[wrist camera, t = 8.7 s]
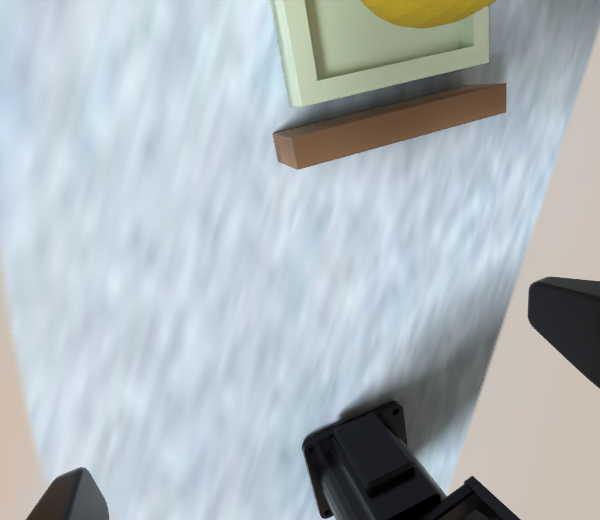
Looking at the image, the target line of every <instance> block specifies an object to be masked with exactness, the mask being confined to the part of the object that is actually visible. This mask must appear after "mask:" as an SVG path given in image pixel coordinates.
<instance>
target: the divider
mask: <svg viewBox="0 0 600 520" xmlns="http://www.w3.org/2000/svg"><path fill="white" fill-rule="evenodd" d="M505 112H506V83H502V84H482V85H466V86H462V87H458V88H453V89H449V90H445V91H441V92H437V93H433V94H429V95H425V96H421V97H417V98H413V99H409V100H405V101H401V102H397V103H393V104H389V105H385V106H381V107H377V108H373V109H369V110H365V111H361V112H357V113H353V114H349V115H345V116H341V117H337V118H333V119H329V120H325V121H321V122H317V123H313V124H309V125H305V126H301V127H297V128H293V129H289V130H285V131H281V132H277V133H273V138H274V143H275V148H276V152H277V157H278V162H281V163H283V164H286V165H288V166H290V167H293V168H295V169H297V170H298V169H302V168H306V167H309V166H313V165H316V164H320V163H324V162H327V161H331V160H335V159H338V158H342V157H345V156H349V155H353V154H356V153H360V152H363V151H367V150H371V149H374V148H378V147H382V146H385V145H389V144H392V143H396V142H400V141H403V140H407V139H411V138H414V137H418V136H421V135H425V134H429V133H432V132H436V131H440V130H443V129H447V128H450V127H454V126H458V125H461V124H465V123H469V122H472V121H476V120H479V119H483V118H487V117H490V116H494V115H498V114H501V113H505Z"/></svg>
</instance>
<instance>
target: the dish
mask: <svg viewBox="0 0 600 520" xmlns="http://www.w3.org/2000/svg"><path fill="white" fill-rule="evenodd" d="M270 4H271V9H272V14H273V20H274V25H275V30H276V35H277V41H278V46H279V51H280V56H281V62H282V67H283V72H284V77H285V82H286V88H287V93H288V98H289V103H290V106H291V107H304V106H308V105H312V104H317V103H321V102H325V101H329V100H333V99H338V98H342V97H346V96H350V95H354V94H359V93H363V92H367V91H371V90H376V89H380V88H384V87H388V86H392V85H397V84H401V83H405V82H409V81H413V80H418V79H422V78H426V77H430V76H435V75H439V74H443V73H447V72H451V71H456V70H460V69H464V68H468V67H472V66H477V65H481V64H485V63H489V5H488V6H486V7H484V8H482V9H481V10H479V11H477V12H475V13H474V14H472V15H470V16H469V17H466V18H464V19H462V20H460V21H457V22H454V23H450V24H446V25H441V26H436V27H432V28H424V29H420V28H410V27H401V26H397V25H394V24H392V23H389V22H387V21H385V20H383V19H381V18H379V17H377V16H376V15H375V14H374V13H373V12H372V11H370V10H369V9H368V8H367V7H366V6H365V5H364V4H363V3H362V1H361V0H270Z"/></svg>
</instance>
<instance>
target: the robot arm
mask: <svg viewBox="0 0 600 520" xmlns="http://www.w3.org/2000/svg"><path fill="white" fill-rule="evenodd" d="M528 319H529V321H530V324H531V325H532V326H533V327H534V329H536V330H537V331H538V332H539V333H540V334H541V335H542V336H543V337H544V338H545V339H546V340H547V341H548V342H549V343H550V344H551V345H553V346H554V347H555V348H556V349H557V350H558V351H559V352H560V353H561V354H562V355H563V356H564V357H565V358H566V359H567V360H568V361H570V363H572V364H573V365H574V366H575V367H576V368H577V369H578V370H579V371H580V372H581V373H582V374H583V375H584V376H586V377H587V378H588V379H589V380H590V381H591V382H593V383H594V384H595V385H596V386H597V387H599V388H600V281H590V280H580V279H570V278H559V277H546V278H543V279H541V280H538V281H536V282H534V283H532V284H531V285H530V287H529V298H528ZM394 409H395V410H394ZM311 447H312V448H311ZM302 451H303V454H304V458H305V462H306V466H307V470H308V473H309V477H310V481H311V485H312V488H313V492H314V496H315V500H316V504H317V507H318V511H319V513H320V515H321V517H322V518H324V519H327V518H329V517H331V516H333V515H334V516H335V519H336V520H520V519H519V518H518V517H517V516H516V515H515V514H514V513H513V512H512V511H510V510H509V509H508V508H507V507H506V506H505V505H504V504H503V503H502V502H500V501H499V500H498V499H497V498H496V497H495V496H494V495H493V494H492V493H491V492H490V491H489V490H487V489H486V488H485V487H484V486H483V485H482V484H481V483H480V482H479V481H478V480H476V479H475V478H474V477H473V476H471V477H470V478H469V479H467V480H466V481H464V485H462V486H461V487H460V488H458V489H457V490H456V491H454V492H453V493H451V494H450V495H449V496H446V495H445V493H444V492H443V491H442V490H441V488H440V487H439V486H438V485H437V483H436V482H435V481H434V479H433V478H432V477H431V476H430V474H429V473H428V472H427V471H426V469H425V468H424V467H423V466H422V464H421V463H420V462H419V460H418V459H417V458H416V457H415V455H414V454H413V453H412V452H411V450H410V449H409V448H408V447H407V439H406V431H405V422H404V414H403V408H402V406H401V405H400V404H399V403H398V402H397V401H392V402H389V403H387V404H385V405H383V406H380V407H378V408H376V409H374V410H371V411H369V412H367V413H365V414H363V415H360V416H358V417H356V418H354V419H351V420H349V421H347V422H345V423H342V424H340V425H338V426H336V427H334V428H331V429H329V430H327V431H325V432H322V433H320V434H318V435H316V436H313V437H311V438H309V439H307V440H306V441H305V442H304V443H303V445H302ZM26 520H109V512H108V507H107V503H106V501H105V499H104V497H103V495H102V493H101V491H100V490H99V488H98V486H97V485H96V483H95V481H94V479H93V478H92V476H91V474H90V472H89V471H88V470H87V469H86V468H83V467H80V468H77V469H75V470H72V471H70V472H67V473H65V474H62V475H60V476H58V477H57V478H56V479H55V480H54V481H53V482H52V483H51V485H50V486H49V488H48V489H47V490H46V492H45V493H44V495H43V496H42V498H41V499H40V500H39V502H38V503H37V505H36V506H35V507H34V509H33V510H32V512H31V513H30V514H29V516H28V517H27V519H26Z"/></svg>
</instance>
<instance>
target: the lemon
mask: <svg viewBox="0 0 600 520" xmlns="http://www.w3.org/2000/svg"><path fill="white" fill-rule="evenodd" d="M361 1H362V3H363V4H364V5H365V6H366V7H367V8H368V9H369V10H370V11H372V12H373V13H374V14H375V15H376V16H377V17H379V18H381V19H383V20H385V21H387V22H389V23H392V24H394V25H397V26H401V27H410V28H420V29H424V28H432V27H436V26H441V25H446V24H450V23H454V22H457V21H460V20H462V19H464V18H466V17H469V16H470V15H472V14H474V13H475V12H477V11H479V10H481V9H482V8H484V7H486V6H488V5H489V4H491V3H493V2H494V1H496V0H361Z"/></svg>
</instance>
